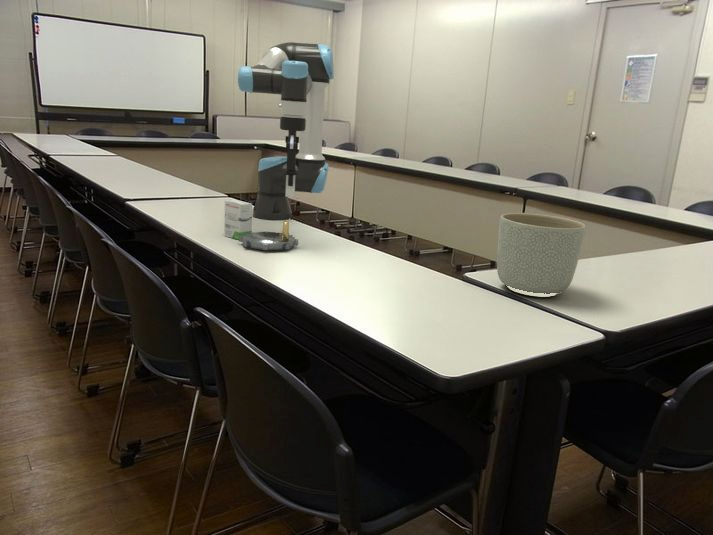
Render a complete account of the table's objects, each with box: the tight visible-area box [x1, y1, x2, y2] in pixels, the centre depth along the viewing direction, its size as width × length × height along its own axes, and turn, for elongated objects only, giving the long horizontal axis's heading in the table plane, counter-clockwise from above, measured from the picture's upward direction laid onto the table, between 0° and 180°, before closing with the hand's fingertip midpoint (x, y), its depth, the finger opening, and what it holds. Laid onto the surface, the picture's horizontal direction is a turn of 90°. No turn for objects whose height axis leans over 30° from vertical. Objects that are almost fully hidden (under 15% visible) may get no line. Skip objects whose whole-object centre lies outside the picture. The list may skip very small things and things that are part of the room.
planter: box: [496, 212, 587, 294], centre depth 148 cm, size 21×21×19 cm
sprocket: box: [238, 220, 299, 251], centre depth 177 cm, size 18×18×8 cm
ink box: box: [223, 199, 253, 241], centre depth 185 cm, size 9×5×12 cm, turn 49°
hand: (290, 196), depth 175 cm, fingers closed
